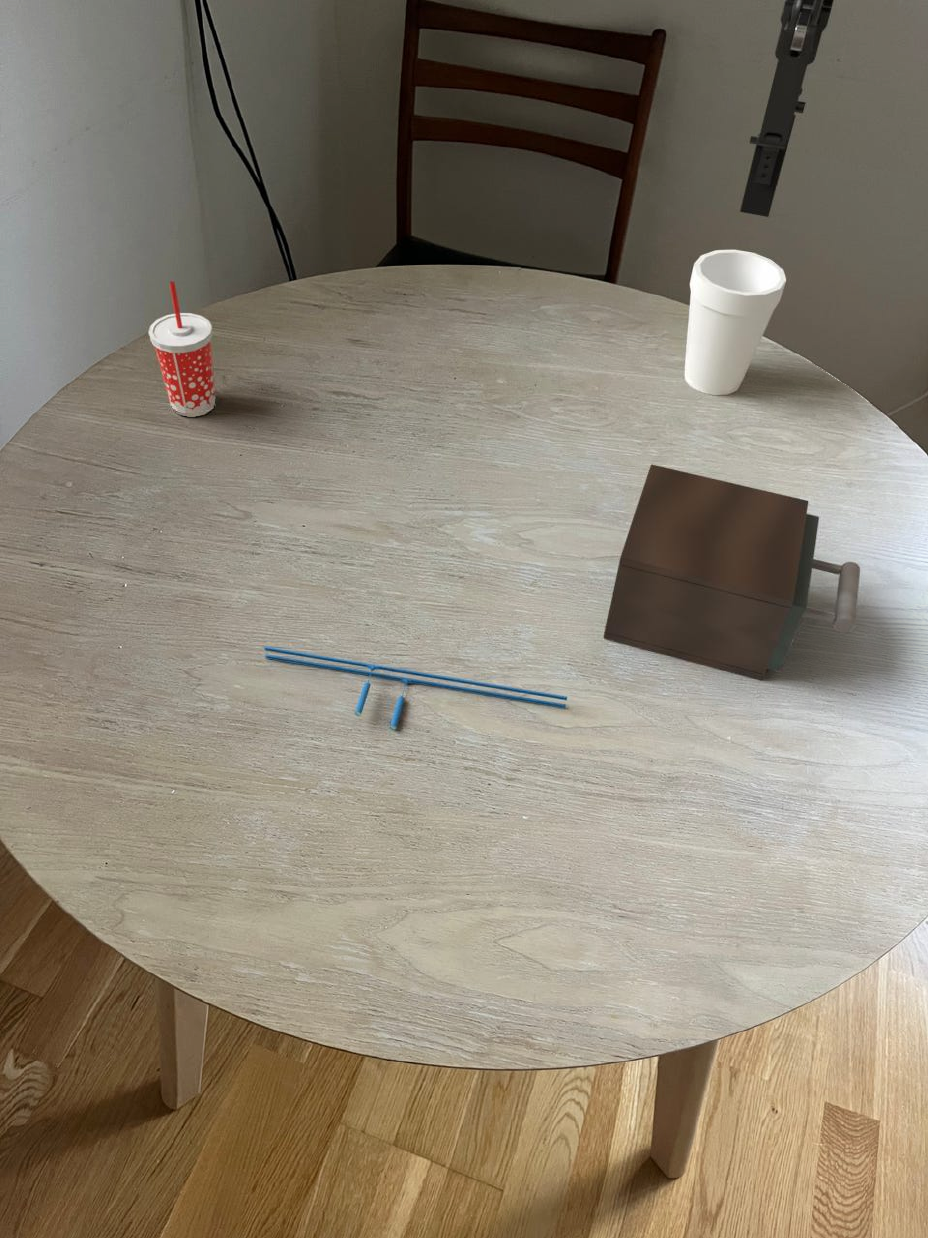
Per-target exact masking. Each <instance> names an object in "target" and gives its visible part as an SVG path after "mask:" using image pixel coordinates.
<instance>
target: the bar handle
mask: <svg viewBox="0 0 928 1238" xmlns="http://www.w3.org/2000/svg"><path fill="white" fill-rule="evenodd" d="M263 649H264V651H266V652H272V653H278V654H284V655H290V656H295V657H302V658H309V659H315V660H320V661H325V662H332V663H338V664H345V665H350V666H356V667H363V668H367V669H370V671H368V670H362V669H356V668H355V669H354V668H351V667H344V666H337V665H331V664H325V663H320V662H315V661H309V660H302V659H296V658H290V657H283V656H277V655H272V654H265V655H264V658H265V659H267V660H274V661H278V662H279V661H280V662H286V663H292V664H297V665H298V664H299V665H304V666H309V667H310V666H311V667H316V668H322V669H326V670H327V669H328V670H334V671H340V672H346V673H351V674H358V675H365V676H369V678H368V681H367V682H364V684H363V687H362V690H361V693H360V697H359V699H358V702H357V705H356V709H355V711H354V715H355V716H356V717H361V715H362V712H363V710H364V706H365V703H366V701H367V698H368V694H369V692H370V688H371V683H369V682H370V679H371V677H375V678H381V679H387V680H394V681H399V682H402V683H403V684H404V687H403V688H404V689H403V691H402V693H401V695H399V696H398V698H397V701H396V705H395V709H394V712H393V715H392V719H391V721H390V726H389V728H390V729H391V730H397V726H398V724H399V720H400V717H401V713H402V710H403V706H404V703H405V700H406V698H405V696H404V693H405V689H406V686H407V685H408V684H417V685H424V686H428V687H429V686H430V687H436V688H441V689H449V690H453V691H454V690H455V691H459V692H465V693H466V692H467V693H471V694H478V695H483V696H489V697H496V698H501V699H502V698H503V699H508V700H513V701H520V702H526V703H533V704H537V705H544V706H550V707H556V708H562V709H566V706H567V704H566V703H561V702H555V701H549V700H542V699H537V698H531V697H525V696H518V695H512V694H507V693H500V692H494V691H488V690H483V689H476V688H470V687H464V686H458V685H451V684H448V683H447V684H445V683H439V682H435V681H429V680H428V681H427V680H422V679H416V678H410V677H404V676H398V675H393V674H385V673H381V672H375V670H377V671H378V670H379V671H387V672H393V673H399V674H404V675H410V676H416V677H423V678H427V679H428V678H429V679H435V680H441V681H447V682H453V683H459V684H465V685H472V686H478V687H484V688H489V689H496V690H499V691H500V690H502V691H507V692H512V693H513V692H514V693H519V694H526V695H531V696H537V697H543V698H550V699H555V700H562V701H568V696H566V695H562V694H561V695H560V694H556V693H555V694H554V693H549V692H542V691H536V690H531V689H530V690H529V689H524V688H519V687H512V686H507V685H500V684H493V683H487V682H481V681H475V680H469V679H464V678H458V677H451V676H446V675H439V674H435V673H434V674H433V673H427V672H422V671H414V670H409V669H403V668H397V667H392V666H385V665H379V664H373V663H367V662H361V661H355V660H354V661H353V660H348V659H344V658H343V659H342V658H338V657H332V656H331V657H329V656H325V655H319V654H312V653H306V652H301V651H295V650H294V651H293V650H288V649H283V648H276V647H270V646H263Z"/></svg>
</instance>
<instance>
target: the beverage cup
mask: <svg viewBox="0 0 928 1238" xmlns="http://www.w3.org/2000/svg"><path fill="white" fill-rule="evenodd" d="M169 288H170V295H171V298H172V304H173V310H174V313H171V314H167V315H164V316H161V317H160V318H157V319H156V320H155V321H154V322H153V323H152V324H150V326H149V329H148V337H149V340H150V342H151V344H152V346H153V347H154V349H155V353H156V357H157V360H158V364H159V367H160V371H161V375H162V378H163V383H164V387H165V389H166V393H167V397H168V401H169V404H170V407H171V406H172V408H173V409H175V410H176V411H178V412H181V413H201V412H203V411H204V412H205V411H206V410H208V409H210V408H211V407H212V406H213V405H214V404H215V399H216V389H215V387H216V386H215V376H214V364H213V352H212V337H213V325H212V324H211V322H210V320H209V319H207V318H206V317H204V316H202V315H200V314H196V313H191V312H181V311H180V305H179V299H178V294H177V293H178V292H177V288H176V281H174V280H171V281H169ZM216 400H217V399H216ZM215 405H216V404H215ZM172 408H171V409H172Z"/></svg>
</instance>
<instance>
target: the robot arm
mask: <svg viewBox="0 0 928 1238" xmlns="http://www.w3.org/2000/svg"><path fill="white" fill-rule="evenodd" d="M833 4H834V0H785V1H784V4H783V7H782V12H781V16H780V23H781V27H780V31H779V36H778V39H777V43H776V48H775V51H774V55H775V58H776V59H777V63H776V68H775V72H774V76H773V80H772V84H771V88H770V91H769V96H768V100H767V105H766V107H765V113H764V115H763V120H762V124H761V129H760V132H759V134H757V136H753V135H751V136H750V140H749V144H751V145H755V147H754V148H755V149H754V153H753V157H752V160H751V164H750V169H749V172H748V177H747V181H746V185H745V189H744V194H743V197H742V202H741V206H740V210H739V212H740V213H745V214H750V215H755V216H760V217H766V218H769V216H770V213H771V208H772V204H773V201H774V197H775V193H776V189H777V186H778V184H779V180H780V177H781V173H782V168H783V164H784V161H785V157H786V153H787V150H788V146H789V142H790V138H791V134H792V131H793V127H794V123H795V119H796V114H795V113H798V114H804V111H805V107H806V104H807V102H806V101H802V100H801V101H800V100H799V98H800V96H801V95H802V93H803V84H804V80H805V75H806V72H807V68H808V66H809V65H811V64H812V63H814V61H815V59H816V57H817V53H818V48H819V45H820V41H821V38H822V34H823V32H824V31H825V30H826V29H827V27H828V23H829V20H830V16H831V12H832V8H833Z"/></svg>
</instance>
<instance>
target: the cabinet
mask: <svg viewBox="0 0 928 1238" xmlns="http://www.w3.org/2000/svg"><path fill="white" fill-rule="evenodd" d="M808 508H809V500H807V499H806V500H805V499H802V498H798V497H794V496H790V495H784V494H781V493H776V492H772V491H768V490H763V489H759V488H755V487H750V486H746V485H743V484H742V485H741V484H737V483H734V482H730V481H725V480H721V479H716V478H712V477H708V476H704V475H699V474H694V473H691V472H687V471H681V470H677V469H674V468H669V467H665V466H661V465H656V464H653V463H652V464H650V466H649V468H648V472H647V475H646V478H645V481H644V484H643V487H642V489H641V494H640V497H639V500H638V502H637V505H636V508H635V511H634V514H633V517H632V520H631V524H630V526H629V530H628V533H627V535H626V539H625V542H624V544H623V548H622V551H621V554H620V557H619V562H618V566H617V571H616V575H615V580H614V586H613V591H612V595H611V599H610V605H609V609H608V614H607V619H606V624H605V628H604V632H603V639H605V640H609V641H613V642H617V643H620V644H624V645H626V646H627V645H628V646H631V647H635V648H638V649H643V650H646V651H650V652H654V653H658V654H661V655H665V656H669V657H673V658H677V659H680V660H683V661H687V662H691V663H695V664H698V665H702V666H707V667H709V668H714V669H718V670H720V671H721V670H722V671H726V672H729V673H733V674H737V675H740V676H744V677H747V678H751V679H755V680H759V681H762V680H763V679H764V676H765V673H766V671H767V670H768V669H767V666H768V664H769V661H770V659H771V656H772V654H773V651H774V649H775V646H776V644H777V641H778V639H779V636H780V634H781V631H782V629H783V626H784V623H785V621H786V618H787V616H788V613H789V611H790V608H791V606H792V603H793V600H794V594H795V587H796V581H797V574H798V567H799V561H800V554H801V548H802V541H803V535H804V528H805V522H806V515H807V514H808Z"/></svg>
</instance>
